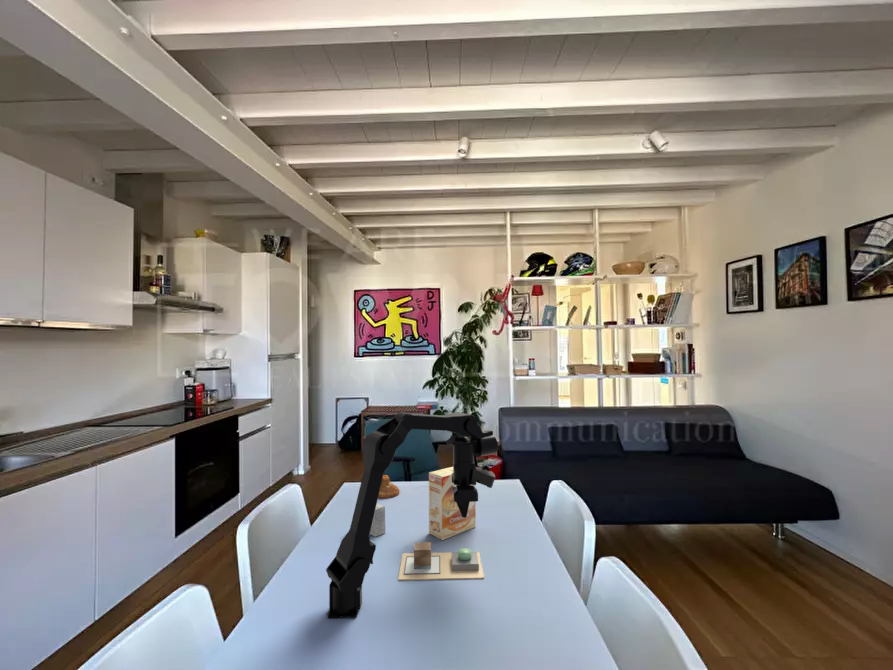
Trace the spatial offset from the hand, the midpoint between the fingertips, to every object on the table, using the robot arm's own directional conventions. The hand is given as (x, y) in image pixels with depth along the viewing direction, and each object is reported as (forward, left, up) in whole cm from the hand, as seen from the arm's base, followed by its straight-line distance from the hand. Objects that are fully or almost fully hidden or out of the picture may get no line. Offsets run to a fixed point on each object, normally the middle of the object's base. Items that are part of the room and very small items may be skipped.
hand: (464, 516), depth 118 cm
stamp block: (-12, 0, -13) cm, 17 cm away
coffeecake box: (-3, +23, -13) cm, 27 cm away
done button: (0, 0, -13) cm, 13 cm away
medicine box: (-29, +23, -13) cm, 39 cm away
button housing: (0, 0, -13) cm, 13 cm away
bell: (-29, +60, -14) cm, 68 cm away
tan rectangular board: (-7, 0, -13) cm, 15 cm away
